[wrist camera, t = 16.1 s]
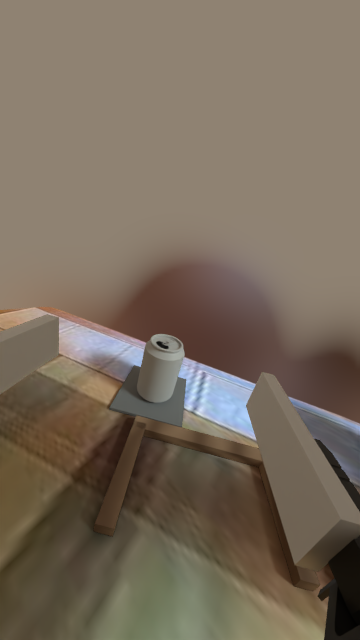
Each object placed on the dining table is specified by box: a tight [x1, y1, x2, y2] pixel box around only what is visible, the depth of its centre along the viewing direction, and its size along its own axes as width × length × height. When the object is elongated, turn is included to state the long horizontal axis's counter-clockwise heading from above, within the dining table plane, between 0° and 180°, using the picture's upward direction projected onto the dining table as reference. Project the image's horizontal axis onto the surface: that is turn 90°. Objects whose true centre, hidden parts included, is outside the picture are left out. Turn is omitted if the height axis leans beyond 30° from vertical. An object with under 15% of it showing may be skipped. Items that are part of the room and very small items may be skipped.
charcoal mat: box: [109, 365, 186, 428], centre depth 38 cm, size 13×13×1 cm
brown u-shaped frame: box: [94, 415, 320, 591], centre depth 24 cm, size 23×13×2 cm, turn 84°
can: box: [137, 334, 184, 403], centre depth 35 cm, size 8×8×12 cm
